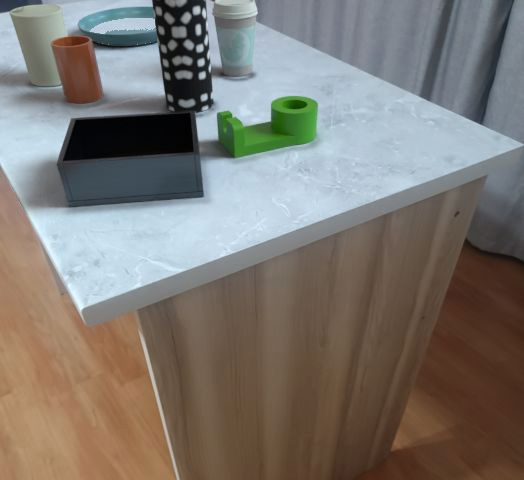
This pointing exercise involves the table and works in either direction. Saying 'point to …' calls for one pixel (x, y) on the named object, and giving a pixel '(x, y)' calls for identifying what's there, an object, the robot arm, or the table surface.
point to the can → (39, 40)
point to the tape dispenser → (270, 127)
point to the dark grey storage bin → (131, 158)
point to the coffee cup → (235, 34)
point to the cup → (77, 68)
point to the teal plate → (122, 35)
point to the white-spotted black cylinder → (184, 53)
